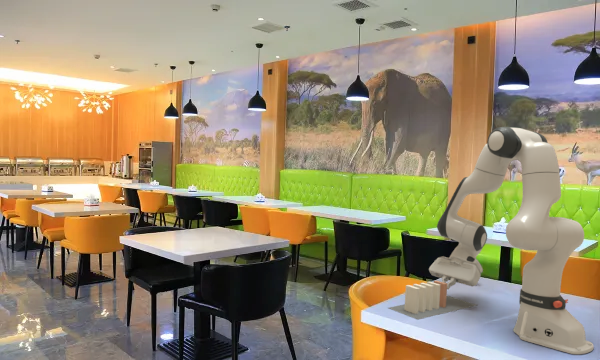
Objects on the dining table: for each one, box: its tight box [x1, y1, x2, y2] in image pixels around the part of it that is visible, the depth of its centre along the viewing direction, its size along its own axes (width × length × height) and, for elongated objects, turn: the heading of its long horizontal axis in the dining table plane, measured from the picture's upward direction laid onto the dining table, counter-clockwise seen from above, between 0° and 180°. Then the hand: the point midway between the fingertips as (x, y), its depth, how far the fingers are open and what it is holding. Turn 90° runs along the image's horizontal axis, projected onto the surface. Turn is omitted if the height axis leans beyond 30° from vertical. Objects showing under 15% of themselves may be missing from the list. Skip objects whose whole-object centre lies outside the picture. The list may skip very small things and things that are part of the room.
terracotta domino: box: [433, 280, 448, 308], centre depth 172 cm, size 2×5×9 cm, turn 36°
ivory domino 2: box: [412, 283, 427, 312], centre depth 165 cm, size 2×5×9 cm, turn 36°
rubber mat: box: [388, 295, 478, 321], centre depth 170 cm, size 14×36×1 cm, turn 126°
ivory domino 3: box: [419, 282, 434, 311], centre depth 167 cm, size 2×5×9 cm, turn 36°
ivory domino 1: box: [404, 284, 420, 314], centre depth 162 cm, size 2×5×9 cm, turn 36°
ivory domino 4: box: [426, 281, 441, 309], centre depth 169 cm, size 2×5×9 cm, turn 36°
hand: (444, 287), depth 173 cm, fingers closed
